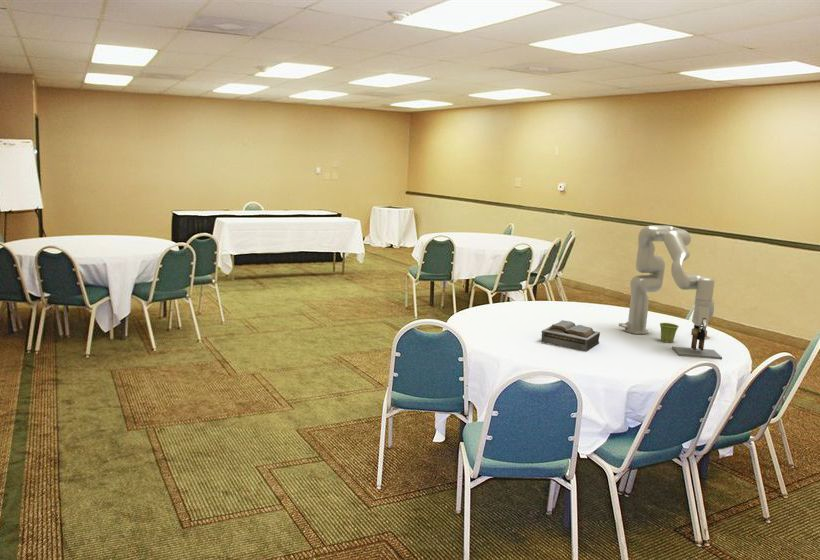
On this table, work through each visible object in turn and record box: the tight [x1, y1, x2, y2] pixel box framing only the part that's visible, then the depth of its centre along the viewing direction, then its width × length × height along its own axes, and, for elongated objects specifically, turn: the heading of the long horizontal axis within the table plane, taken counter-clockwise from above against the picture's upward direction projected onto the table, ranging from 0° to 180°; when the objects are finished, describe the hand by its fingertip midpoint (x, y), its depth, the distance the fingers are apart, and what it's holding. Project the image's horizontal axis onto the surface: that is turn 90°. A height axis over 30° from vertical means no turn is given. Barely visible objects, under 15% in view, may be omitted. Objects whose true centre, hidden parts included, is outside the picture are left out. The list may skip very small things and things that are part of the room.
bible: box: [540, 320, 601, 352], centre depth 332 cm, size 23×27×10 cm
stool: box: [690, 327, 708, 351], centre depth 322 cm, size 7×7×10 cm
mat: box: [671, 345, 723, 360], centre depth 324 cm, size 20×13×1 cm, turn 82°
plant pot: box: [659, 322, 680, 343], centre depth 345 cm, size 9×9×9 cm
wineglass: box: [705, 298, 715, 340], centre depth 355 cm, size 8×8×21 cm
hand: (698, 337), depth 322 cm, fingers closed on stool, 6 cm apart
